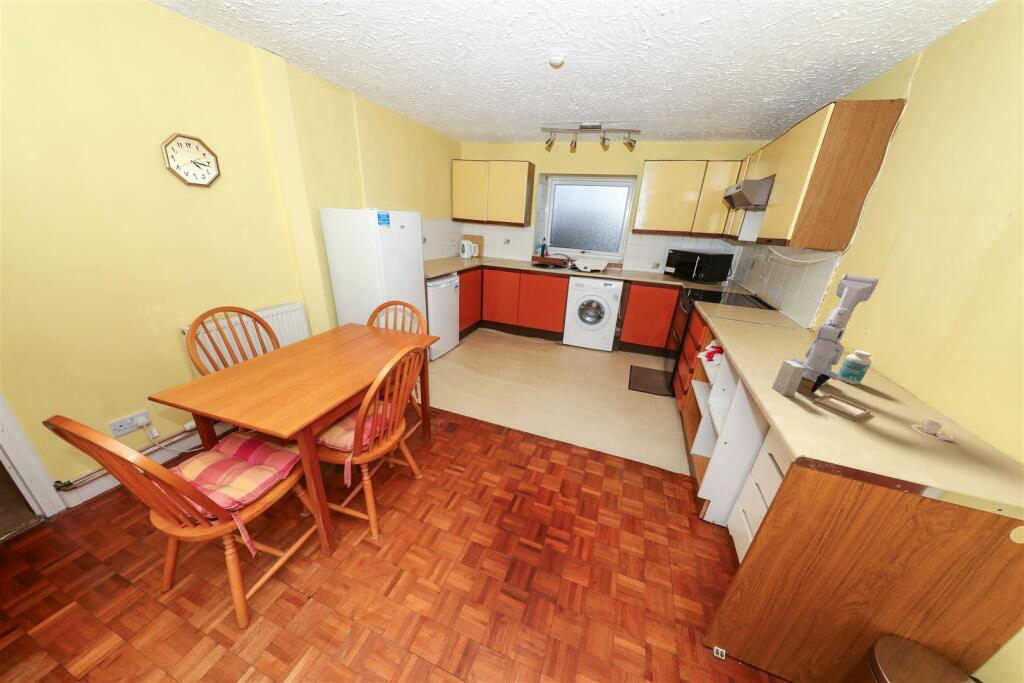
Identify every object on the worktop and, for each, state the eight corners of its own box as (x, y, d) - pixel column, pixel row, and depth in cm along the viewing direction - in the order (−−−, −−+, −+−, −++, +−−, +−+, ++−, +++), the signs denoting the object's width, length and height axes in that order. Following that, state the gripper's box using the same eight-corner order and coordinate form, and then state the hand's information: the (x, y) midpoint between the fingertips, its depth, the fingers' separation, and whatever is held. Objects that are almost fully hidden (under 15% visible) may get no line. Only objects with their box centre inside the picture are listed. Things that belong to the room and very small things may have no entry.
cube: (798, 387, 130) (803, 376, 128) (814, 393, 126) (819, 381, 124) (792, 389, 128) (797, 378, 126) (807, 395, 124) (813, 384, 122)
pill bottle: (832, 377, 141) (846, 349, 136) (841, 375, 143) (855, 347, 138) (854, 386, 134) (870, 356, 129) (863, 384, 137) (879, 354, 132)
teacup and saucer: (958, 445, 101) (966, 434, 99) (927, 439, 102) (934, 429, 101) (932, 428, 109) (938, 418, 107) (903, 423, 110) (909, 413, 109)
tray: (827, 396, 124) (828, 393, 123) (869, 413, 114) (871, 410, 114) (812, 403, 118) (814, 399, 118) (855, 421, 109) (857, 417, 108)
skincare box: (794, 396, 122) (807, 367, 118) (782, 395, 122) (795, 367, 118) (782, 388, 128) (794, 360, 124) (771, 387, 128) (782, 359, 123)
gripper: (791, 350, 125) (778, 381, 130) (839, 366, 114) (823, 399, 119) (800, 347, 129) (787, 378, 134) (848, 363, 117) (831, 395, 122)
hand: (804, 388), depth 126 cm, fingers closed on cube, 5 cm apart
